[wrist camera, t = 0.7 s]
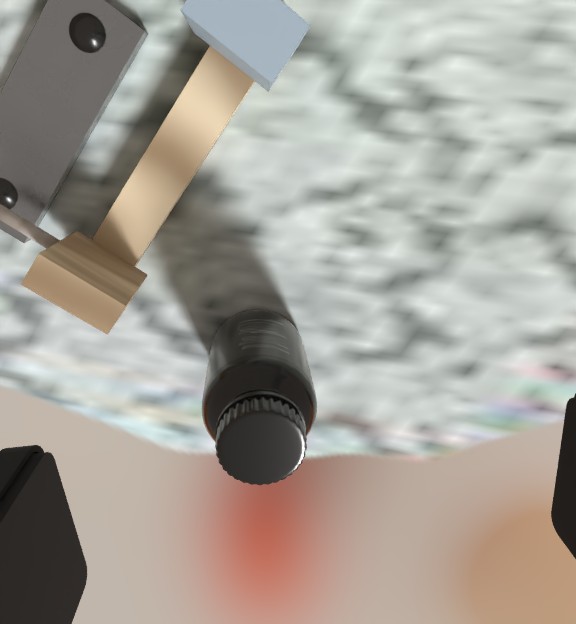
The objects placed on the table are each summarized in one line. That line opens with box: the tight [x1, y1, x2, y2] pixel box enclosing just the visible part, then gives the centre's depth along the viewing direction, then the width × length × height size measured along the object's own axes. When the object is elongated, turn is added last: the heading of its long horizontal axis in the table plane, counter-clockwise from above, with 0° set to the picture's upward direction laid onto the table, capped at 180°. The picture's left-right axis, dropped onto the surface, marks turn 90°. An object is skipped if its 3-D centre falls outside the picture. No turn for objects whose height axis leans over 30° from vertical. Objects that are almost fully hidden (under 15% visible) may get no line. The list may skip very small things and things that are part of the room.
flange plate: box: [0, 0, 148, 243], centre depth 30 cm, size 15×5×1 cm, turn 144°
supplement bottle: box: [202, 309, 317, 485], centre depth 31 cm, size 7×7×12 cm
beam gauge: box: [0, 46, 255, 334], centre depth 27 cm, size 20×10×8 cm, turn 144°
